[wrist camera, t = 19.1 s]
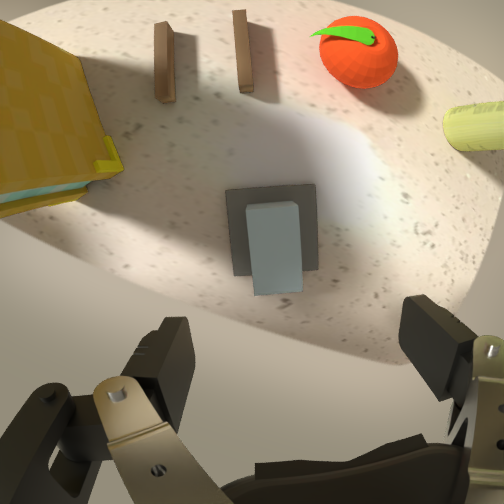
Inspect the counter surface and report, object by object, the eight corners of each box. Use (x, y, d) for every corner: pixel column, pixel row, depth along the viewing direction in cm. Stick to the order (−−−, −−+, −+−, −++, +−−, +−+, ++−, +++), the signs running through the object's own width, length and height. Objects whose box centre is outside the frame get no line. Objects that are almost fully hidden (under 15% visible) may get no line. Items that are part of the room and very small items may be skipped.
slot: (163, 103, 25) (155, 97, 22) (161, 33, 22) (154, 23, 20) (253, 91, 24) (253, 84, 22) (246, 21, 22) (245, 9, 20)
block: (254, 278, 28) (254, 295, 24) (247, 204, 26) (245, 210, 23) (296, 274, 28) (303, 291, 24) (292, 200, 26) (298, 205, 22)
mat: (234, 274, 29) (234, 276, 28) (226, 190, 27) (225, 190, 26) (317, 267, 29) (318, 269, 28) (314, 184, 26) (315, 184, 26)
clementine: (299, 87, 24) (313, 61, 17) (303, 27, 22) (315, -10, 15) (380, 103, 24) (414, 86, 17) (380, 43, 22) (409, 16, 15)
